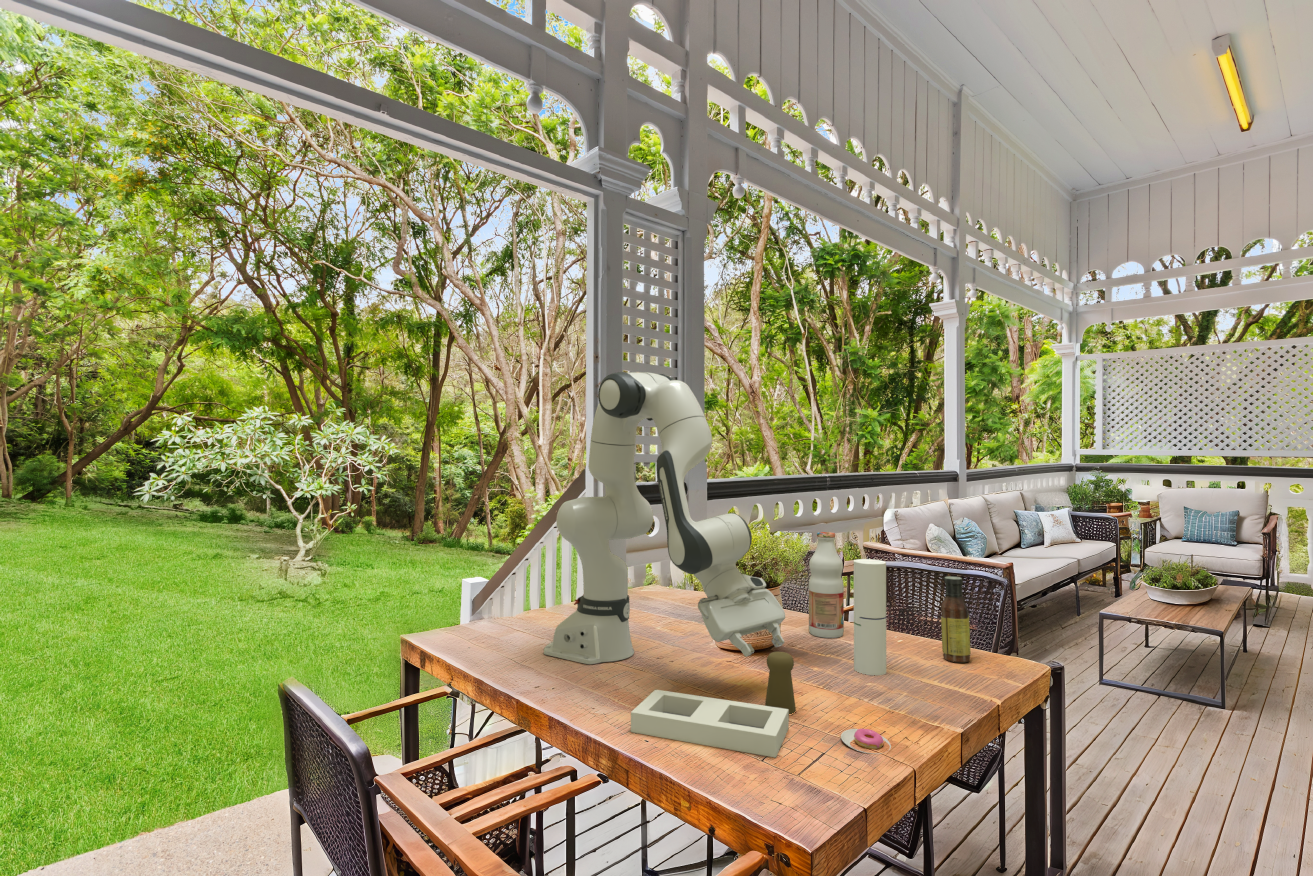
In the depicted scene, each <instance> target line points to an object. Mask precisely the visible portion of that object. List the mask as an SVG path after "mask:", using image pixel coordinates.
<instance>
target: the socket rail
mask: <svg viewBox="0 0 1313 876" xmlns="http://www.w3.org/2000/svg"><path fill="white" fill-rule="evenodd" d="M789 719H790V716H789V709H783V708H777V707H770V706H765V705H762V704H756V703H749V702H743V701H735V700H731V699H730V700H728V699H722V698H715V697H709V696H708V697H707V696H701V695H696V694H695V695H694V694H688V693H681V692H673V691H668V690H661V689H654V690H653V691H652V692H651V693H650V694H649V695H648V696H647V697H645V698H644V700H642V701H641V702H640V703H639V704H638V705H637V706H635V708H634V709H633V710H631V711H630V733H634V734H641V735H645V736H652V737H657V738H662V739H667V740H668V739H669V740H674V741H681V742H686V743H689V744H690V743H692V744H696V745H702V746H708V747H714V748H719V749H726V750H731V751H735V752H736V751H737V752H741V753H749V754H752V755H759V756H764V757H771V758H775V759H776V758H777V756H778V754H779V752H780V750H781V747H782V744H783V742H784V741H785V738H786V735H787V734H788V731H789V727H790V726H789V721H790V720H789ZM786 733H787V734H786Z"/></svg>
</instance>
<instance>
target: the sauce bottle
mask: <svg viewBox="0 0 1313 876" xmlns="http://www.w3.org/2000/svg"><path fill="white" fill-rule="evenodd" d="M943 579H944V581H943V582H944V584H945V586H944V587H945V593H944V594H945V595H944V599H943V600H942V602H941V605H940V608H941V609H940V610H941V614H940V619H941V621H940V622H941V623H940V625H941V626H940V627H941V645H942V647H941V648H942V651H941V652H942V657H943V659H945V660H946V661H947V662H951V663H958V664H963V663H964V664H965V663H968V662H970V661H971V635H970V634H971V630H970V613H969V610H968V607H967V604H966V601H965V598H964V595H963V583H964V581H963V578H962V577H959V576H949V575H948V576H945V577H944V578H943Z"/></svg>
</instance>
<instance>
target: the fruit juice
mask: <svg viewBox="0 0 1313 876" xmlns="http://www.w3.org/2000/svg"><path fill="white" fill-rule="evenodd" d="M816 539H817V545H816V548H815V550H814V553H813V555H812V556H811V557H810V559H809V565H808V567H809V571H810V577H809V580H808V631H809V634H810V635H812V636H814V637H818V638H822V639H823V638H824V639H838V638H841V637H842V636H843V635H844V632H845V631H844V629H845V627H844V625H845V624H844V620H845V619H844V618H845V617H844V615H845V614H844V613H845V611H844V609H845V608H844V607H845V605H844V603H845V601H844V600H845V599H844V598H845V597H844V593H845V592H844V591H845V589H844V586H845V585H844V581H843V578H842V573H843V570H844V564H843V563H844V562H843V560H842V558H841V557H840V556H839V553H838V552H837V549H836V545H835V539H836V533H835V532H833V531H831V532H830V531H818V532H816Z"/></svg>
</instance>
